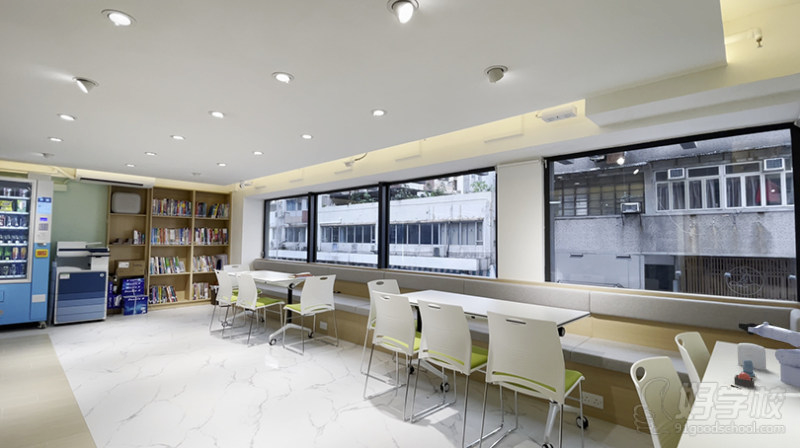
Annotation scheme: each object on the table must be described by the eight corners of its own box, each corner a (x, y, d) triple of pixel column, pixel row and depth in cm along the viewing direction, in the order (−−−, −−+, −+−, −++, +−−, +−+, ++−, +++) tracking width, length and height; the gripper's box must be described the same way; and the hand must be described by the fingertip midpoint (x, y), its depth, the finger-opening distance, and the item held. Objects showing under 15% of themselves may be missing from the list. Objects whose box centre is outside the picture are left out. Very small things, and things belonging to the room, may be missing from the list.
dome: (738, 379, 161) (738, 370, 161) (751, 382, 158) (751, 373, 158) (737, 381, 158) (737, 372, 159) (750, 384, 155) (750, 375, 156)
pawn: (758, 377, 169) (757, 361, 169) (748, 376, 168) (748, 361, 169) (748, 373, 173) (747, 358, 174) (738, 373, 173) (738, 358, 173)
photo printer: (737, 367, 187) (736, 342, 188) (738, 365, 190) (738, 340, 190) (765, 372, 179) (765, 346, 180) (766, 371, 182) (766, 345, 182)
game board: (737, 373, 176) (737, 365, 176) (760, 378, 170) (760, 369, 170) (730, 386, 159) (730, 376, 159) (756, 392, 153) (756, 382, 153)
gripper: (791, 325, 170) (760, 318, 183) (762, 323, 169) (733, 316, 182) (790, 340, 170) (759, 332, 183) (762, 339, 168) (732, 331, 182)
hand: (746, 325), depth 183 cm, fingers open, 7 cm apart
